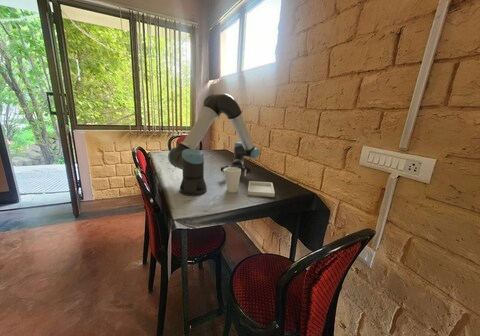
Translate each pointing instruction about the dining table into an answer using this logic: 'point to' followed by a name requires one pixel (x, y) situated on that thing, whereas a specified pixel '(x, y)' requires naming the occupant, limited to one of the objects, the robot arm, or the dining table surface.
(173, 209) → the dining table surface
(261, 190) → the tray
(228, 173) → the foam cup
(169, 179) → the dining table surface
